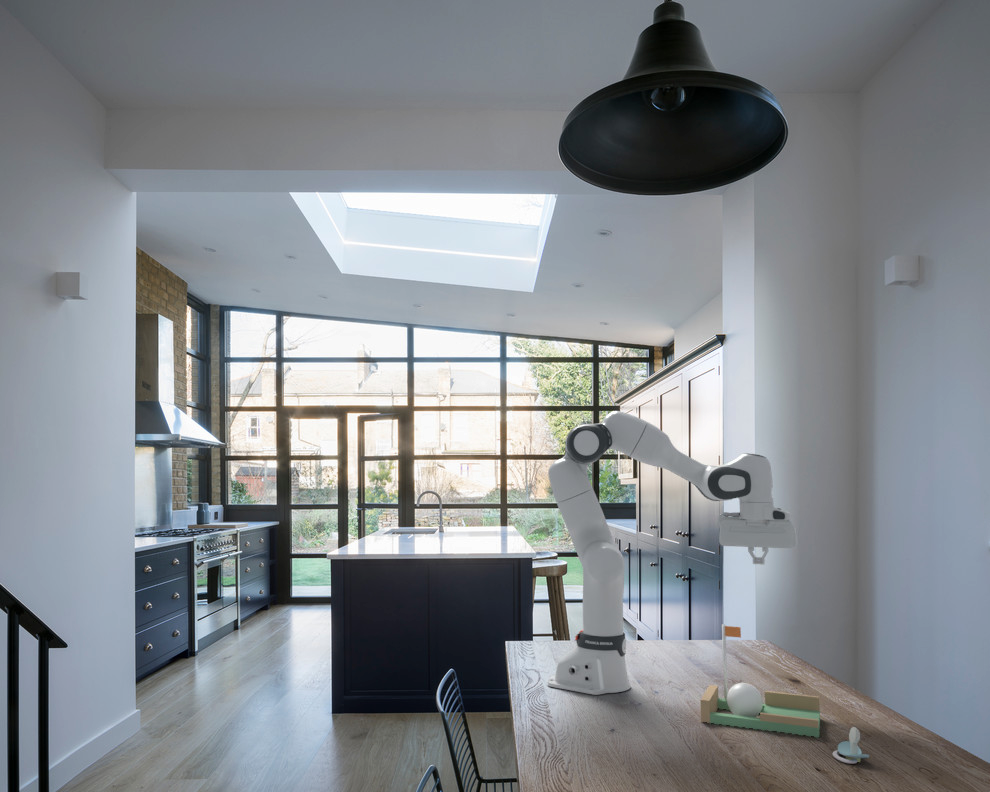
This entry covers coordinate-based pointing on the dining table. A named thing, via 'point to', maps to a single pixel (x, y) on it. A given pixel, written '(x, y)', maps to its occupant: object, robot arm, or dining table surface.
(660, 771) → the dining table surface
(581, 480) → the robot arm
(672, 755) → the dining table surface
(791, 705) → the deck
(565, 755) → the dining table surface
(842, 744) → the pacifier
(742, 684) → the ball
